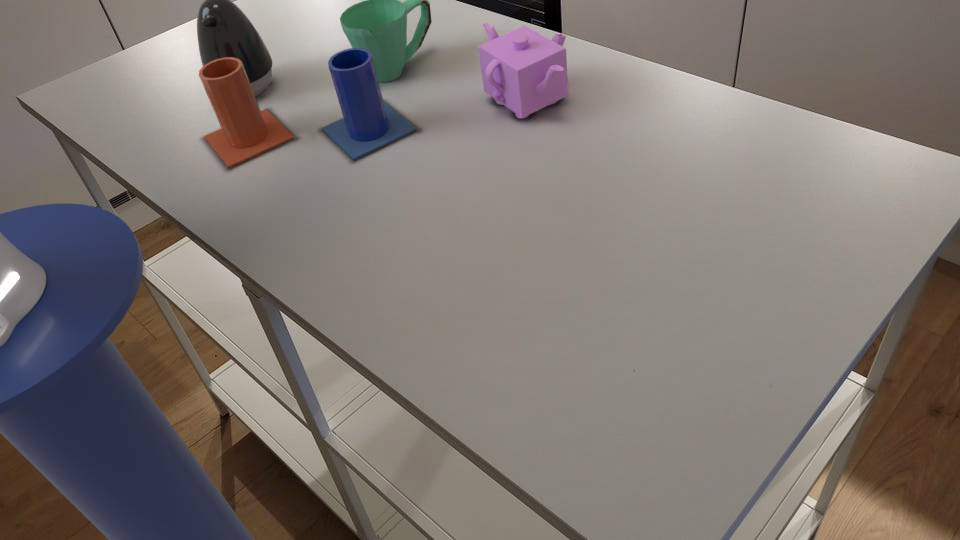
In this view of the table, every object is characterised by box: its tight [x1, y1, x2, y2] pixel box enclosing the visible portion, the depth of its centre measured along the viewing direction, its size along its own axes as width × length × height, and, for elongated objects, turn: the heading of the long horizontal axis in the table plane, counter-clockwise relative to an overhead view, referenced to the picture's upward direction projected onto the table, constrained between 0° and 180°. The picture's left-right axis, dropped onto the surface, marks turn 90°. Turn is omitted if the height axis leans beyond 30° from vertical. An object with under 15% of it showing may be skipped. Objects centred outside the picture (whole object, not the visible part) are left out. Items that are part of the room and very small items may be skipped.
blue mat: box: [321, 102, 418, 162], centre depth 107 cm, size 10×10×1 cm
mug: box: [339, 0, 432, 83], centre depth 115 cm, size 15×10×10 cm
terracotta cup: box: [198, 57, 268, 148], centre depth 105 cm, size 6×6×11 cm
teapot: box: [477, 22, 569, 119], centre depth 104 cm, size 18×13×10 cm
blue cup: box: [327, 47, 389, 142], centre depth 102 cm, size 6×6×11 cm
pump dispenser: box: [196, 0, 273, 97], centre depth 114 cm, size 10×10×15 cm
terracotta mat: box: [203, 108, 295, 169], centre depth 109 cm, size 10×10×1 cm
